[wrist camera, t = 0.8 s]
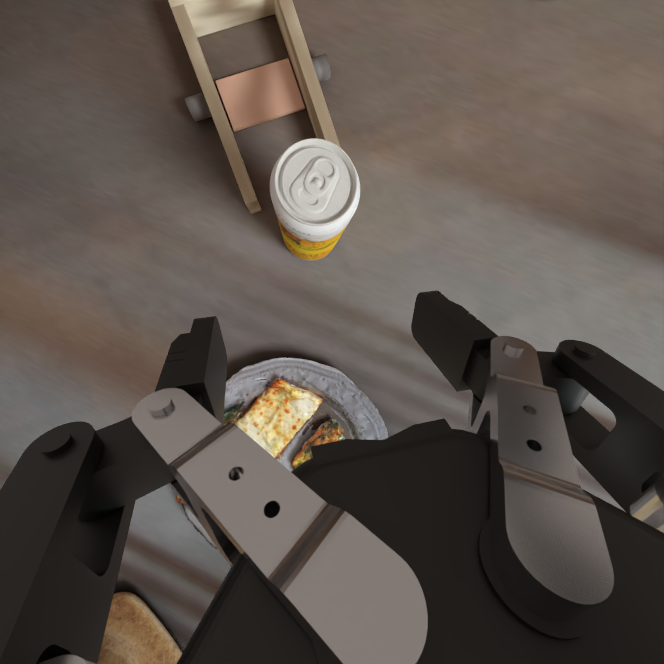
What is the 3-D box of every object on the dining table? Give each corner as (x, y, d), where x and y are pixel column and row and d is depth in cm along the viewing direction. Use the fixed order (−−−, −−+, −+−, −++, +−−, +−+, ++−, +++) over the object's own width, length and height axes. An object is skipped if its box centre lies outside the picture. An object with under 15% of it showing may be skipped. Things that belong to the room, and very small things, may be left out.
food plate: (281, 586, 38) (279, 615, 34) (137, 469, 35) (120, 487, 31) (419, 446, 39) (431, 460, 35) (290, 318, 35) (289, 319, 32)
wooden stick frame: (299, -8, 31) (299, -46, 28) (359, 177, 34) (366, 163, 30) (162, 34, 30) (143, -1, 27) (234, 220, 33) (226, 211, 29)
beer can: (272, 241, 33) (249, 195, 19) (301, 195, 33) (300, 110, 18) (318, 271, 34) (331, 250, 19) (346, 226, 34) (381, 169, 19)
